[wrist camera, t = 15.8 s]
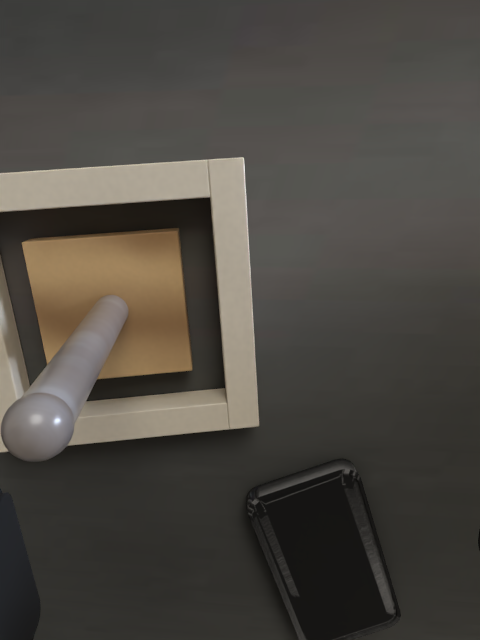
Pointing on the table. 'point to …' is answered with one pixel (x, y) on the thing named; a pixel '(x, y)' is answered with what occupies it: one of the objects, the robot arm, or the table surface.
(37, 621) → the robot arm
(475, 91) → the table surface
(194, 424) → the white square frame
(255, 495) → the phone
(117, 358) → the wooden base with peg
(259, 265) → the table surface
